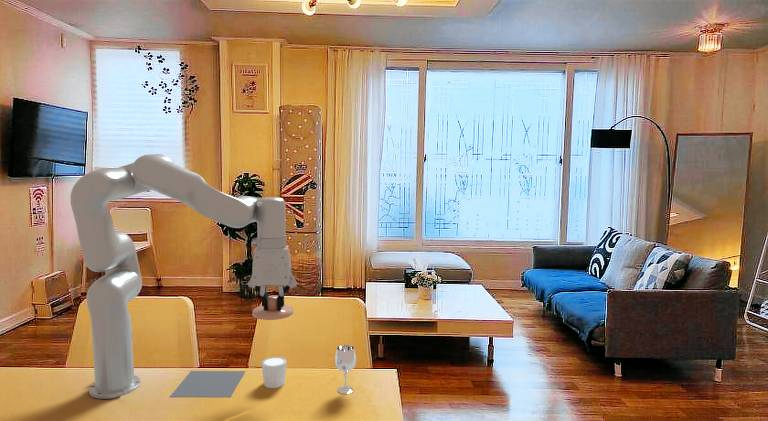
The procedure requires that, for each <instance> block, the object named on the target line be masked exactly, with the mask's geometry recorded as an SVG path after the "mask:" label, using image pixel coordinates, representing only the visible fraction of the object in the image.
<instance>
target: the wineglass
mask: <svg viewBox="0 0 768 421" xmlns="http://www.w3.org/2000/svg"><path fill="white" fill-rule="evenodd" d="M355 351H356V350H355V347H354V346H353V345H349V344H342V345H338V346H337V347H336V351H335V355H334V356H335V357H334V364H335V367H336V368H337V370H339V371H342V372H343V377H344V385H343V386H340V387H337V392H338V393H340V394H343V395H345V394H346V395H347V394H351V393H353V392H354V391H355V390H354V387H352V386H350V385H347V378H348V372H350V371H351V370H353V369H355V366H356V365H357V364H356V363H357V355H356V352H355Z"/></svg>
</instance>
